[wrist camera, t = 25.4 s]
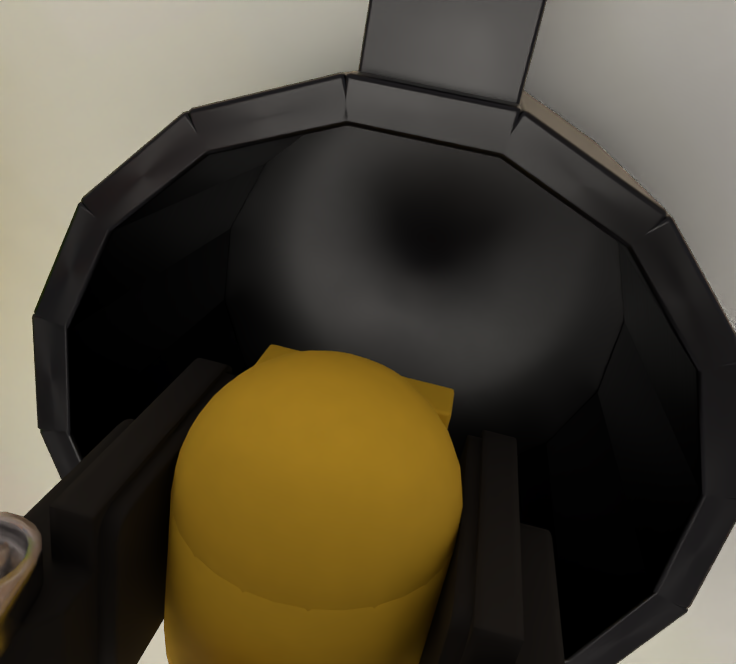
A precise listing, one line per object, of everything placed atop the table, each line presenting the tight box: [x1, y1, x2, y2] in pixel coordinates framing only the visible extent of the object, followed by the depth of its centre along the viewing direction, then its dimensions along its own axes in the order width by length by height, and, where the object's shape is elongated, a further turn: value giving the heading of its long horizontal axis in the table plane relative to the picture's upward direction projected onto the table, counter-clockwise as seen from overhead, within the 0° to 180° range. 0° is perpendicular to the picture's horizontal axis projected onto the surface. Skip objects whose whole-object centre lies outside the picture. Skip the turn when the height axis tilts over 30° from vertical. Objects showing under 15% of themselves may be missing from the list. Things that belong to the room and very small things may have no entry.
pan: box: [32, 0, 736, 664], centre depth 15 cm, size 12×18×8 cm
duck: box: [164, 345, 463, 664], centre depth 8 cm, size 7×4×6 cm, turn 170°
